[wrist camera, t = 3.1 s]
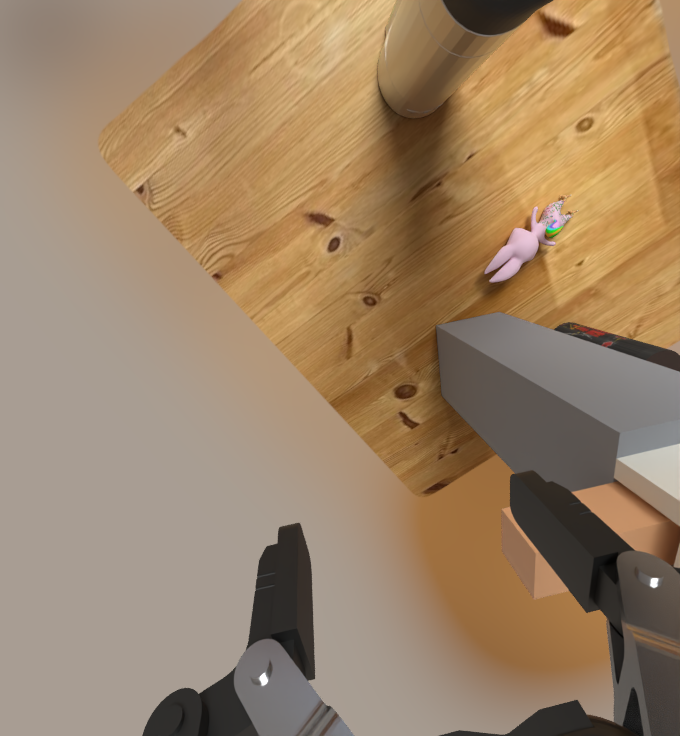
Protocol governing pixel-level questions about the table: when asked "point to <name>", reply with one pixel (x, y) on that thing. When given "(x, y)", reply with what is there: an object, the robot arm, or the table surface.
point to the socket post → (566, 407)
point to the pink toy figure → (528, 241)
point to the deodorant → (623, 345)
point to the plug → (616, 510)
